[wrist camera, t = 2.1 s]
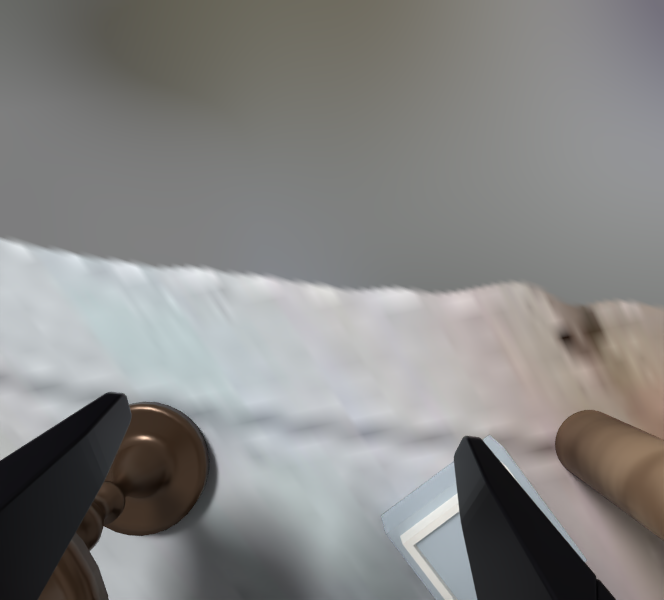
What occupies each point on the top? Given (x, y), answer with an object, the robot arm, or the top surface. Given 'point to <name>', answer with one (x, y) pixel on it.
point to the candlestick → (136, 494)
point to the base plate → (446, 530)
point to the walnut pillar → (616, 464)
